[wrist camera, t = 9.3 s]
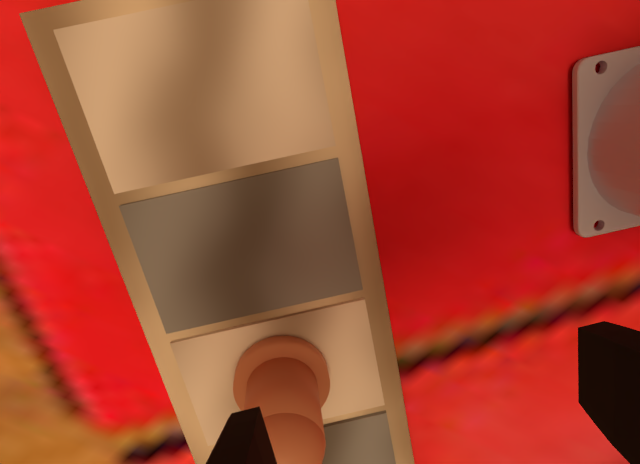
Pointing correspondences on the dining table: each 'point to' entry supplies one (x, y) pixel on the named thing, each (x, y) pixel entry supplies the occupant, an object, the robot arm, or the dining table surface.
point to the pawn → (286, 395)
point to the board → (232, 198)
